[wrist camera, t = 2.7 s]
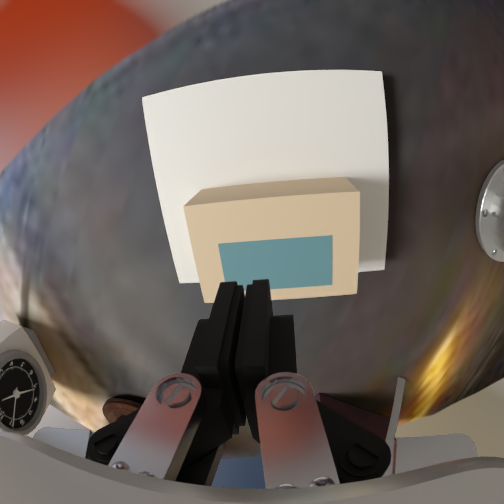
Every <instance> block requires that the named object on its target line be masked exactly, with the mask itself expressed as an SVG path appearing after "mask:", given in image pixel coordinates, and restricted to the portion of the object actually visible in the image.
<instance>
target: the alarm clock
mask: <svg viewBox="0 0 504 504" xmlns="http://www.w3.org/2000/svg"><path fill="white" fill-rule="evenodd" d="M54 372H55V370H54V368H53V367H52V365H51V363H50V361H49V359H48V357H47V355H46V353H45V352H44V350H43V348H42V346H41V344H40V342H39V340H38V337H37V335H36V333H35V331H34V330H31V329H28V328H25V327H22V326H20V325H17V324H14V323H11V322H8V321H6V320H3V321H1V322H0V431H2V432H14V433H19V434H22V435H28V434H29V433H30V432H32V431H33V430H34V429H35V428H36V426H37V425H38V424H39V422H40V421H41V418H42V416H43V415H44V413H45V411H46V409H47V407H48V405H49V403H50V401H51V399H52V397H53V394H54V392H55V390H56V388H55V386H54V383H53V381H52V379H51V377H52V375H53V374H54Z"/></svg>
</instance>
